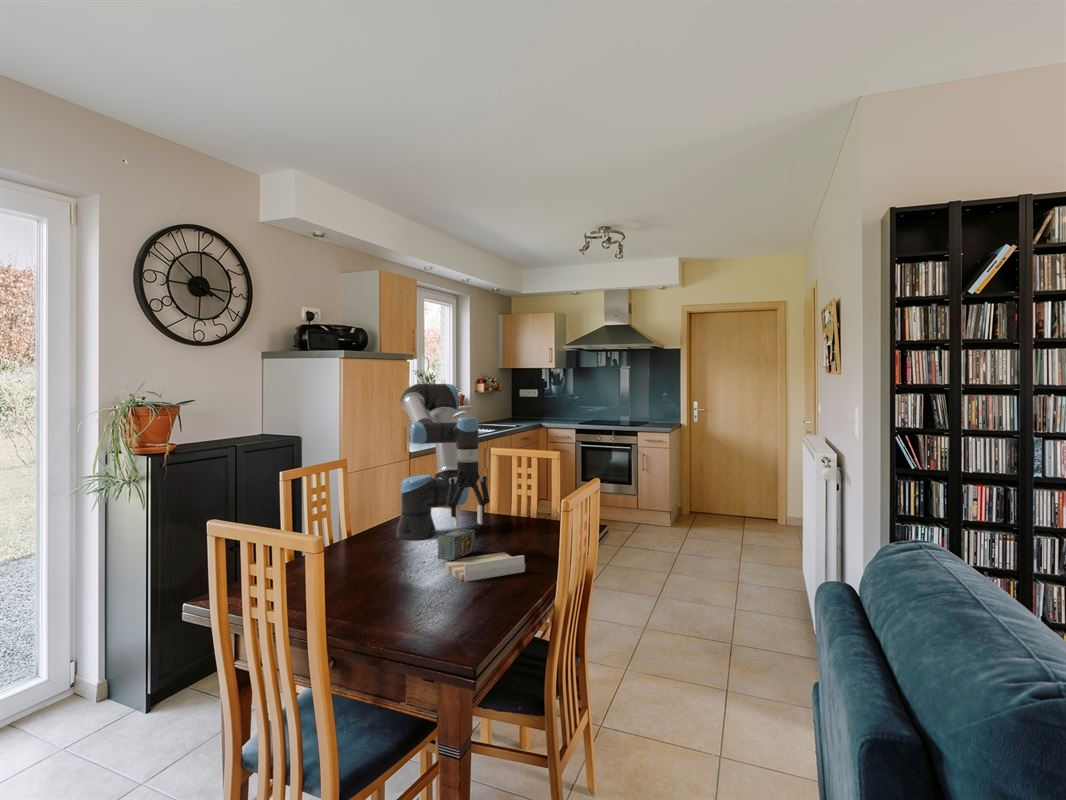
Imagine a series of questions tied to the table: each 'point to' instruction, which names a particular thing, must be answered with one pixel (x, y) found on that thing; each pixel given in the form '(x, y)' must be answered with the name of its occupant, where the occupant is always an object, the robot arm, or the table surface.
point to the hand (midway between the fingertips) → (468, 524)
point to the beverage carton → (455, 544)
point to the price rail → (493, 568)
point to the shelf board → (458, 564)
